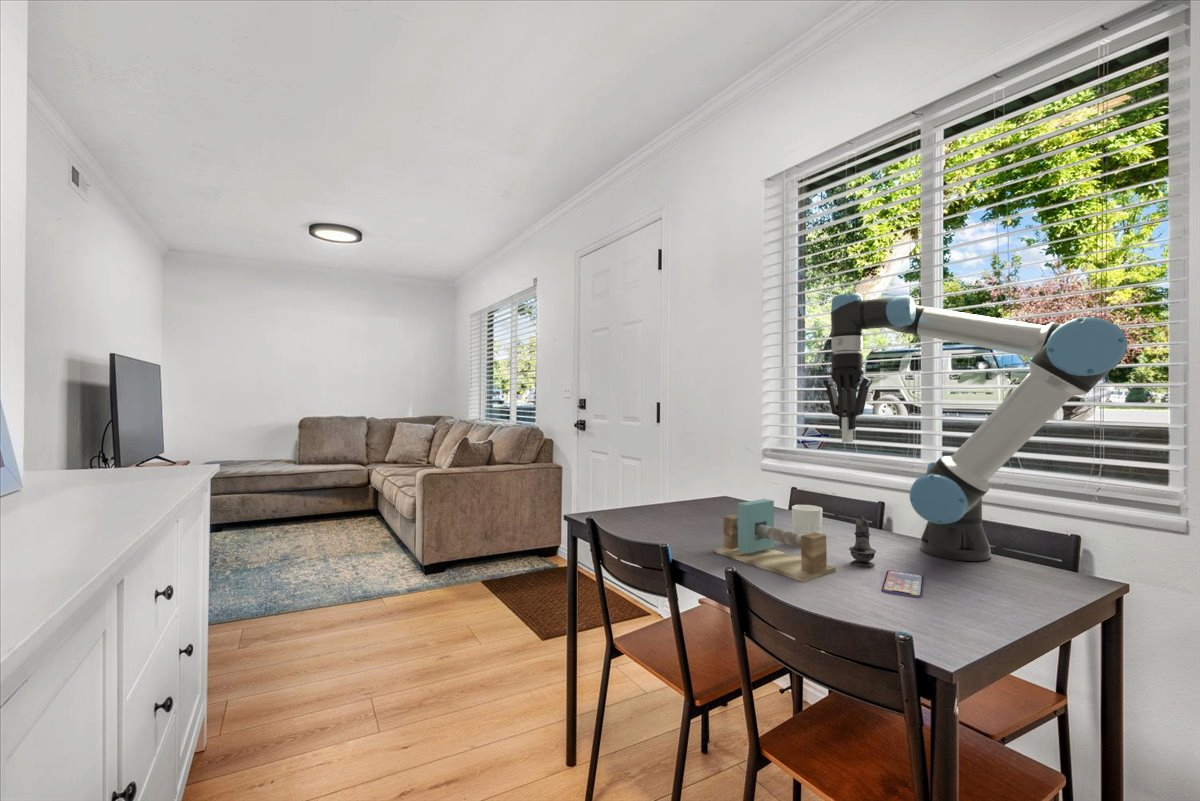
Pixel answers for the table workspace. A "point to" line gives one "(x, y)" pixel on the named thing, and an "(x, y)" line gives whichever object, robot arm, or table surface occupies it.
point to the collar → (747, 518)
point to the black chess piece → (862, 545)
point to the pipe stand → (776, 561)
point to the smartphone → (903, 584)
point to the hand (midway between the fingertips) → (847, 441)
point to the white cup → (807, 519)
